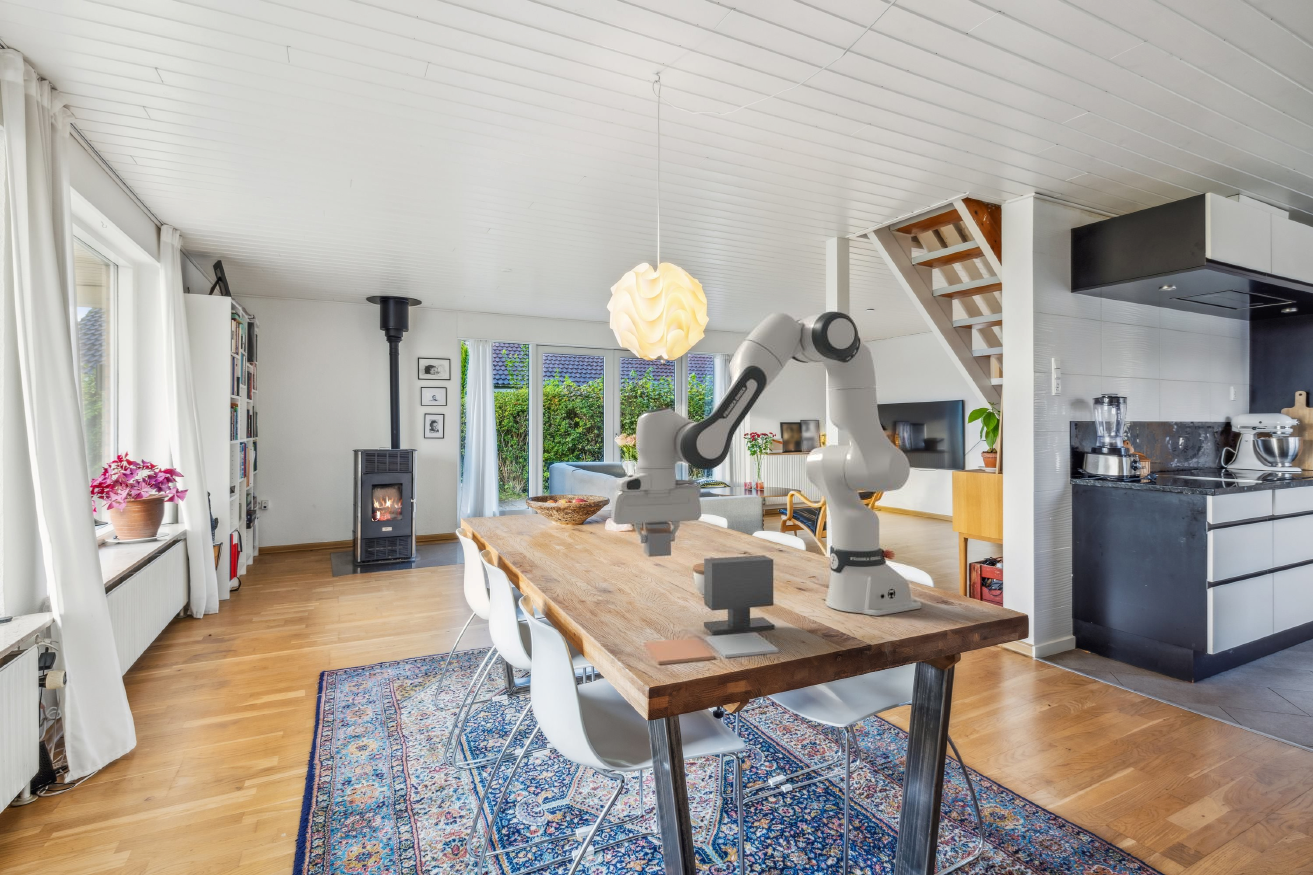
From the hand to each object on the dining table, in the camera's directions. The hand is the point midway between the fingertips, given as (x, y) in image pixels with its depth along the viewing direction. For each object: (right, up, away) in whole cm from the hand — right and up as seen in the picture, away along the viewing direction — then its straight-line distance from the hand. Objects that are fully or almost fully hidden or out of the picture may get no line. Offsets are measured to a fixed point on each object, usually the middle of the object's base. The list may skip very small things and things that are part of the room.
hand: (657, 542), depth 147 cm
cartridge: (0, -3, 0) cm, 3 cm away
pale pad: (+17, -18, -16) cm, 29 cm away
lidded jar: (+15, -18, +23) cm, 32 cm away
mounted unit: (+18, -18, -5) cm, 26 cm away
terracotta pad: (+4, -18, -20) cm, 27 cm away
